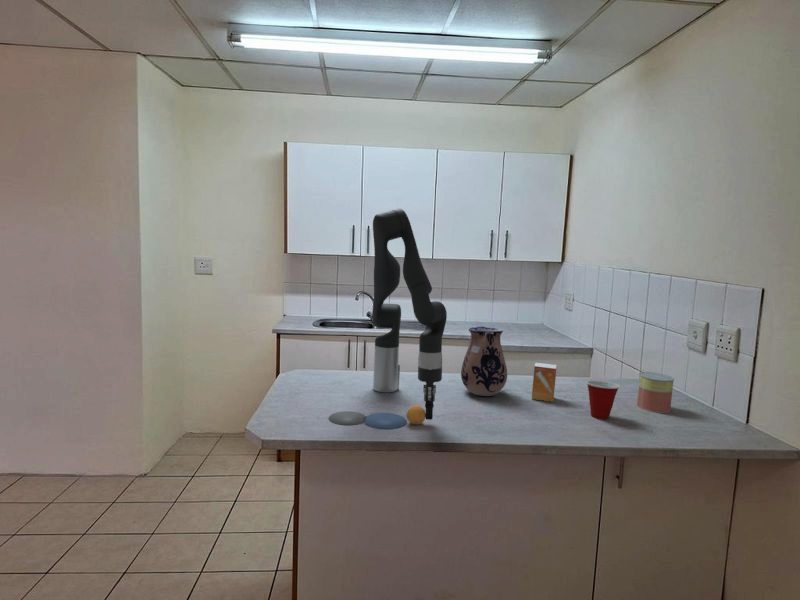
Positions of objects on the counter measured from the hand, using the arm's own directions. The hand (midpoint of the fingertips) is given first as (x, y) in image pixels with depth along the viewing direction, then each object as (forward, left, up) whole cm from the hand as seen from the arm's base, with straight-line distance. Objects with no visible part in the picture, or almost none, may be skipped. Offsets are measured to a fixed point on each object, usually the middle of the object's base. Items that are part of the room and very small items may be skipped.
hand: (429, 418), depth 164 cm
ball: (+3, -3, +1) cm, 4 cm away
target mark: (+9, -11, -2) cm, 14 cm away
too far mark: (+17, -20, -2) cm, 26 cm away
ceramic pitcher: (-43, -10, -2) cm, 44 cm away
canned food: (-79, +42, -2) cm, 89 cm away
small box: (-55, +9, -2) cm, 56 cm away
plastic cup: (-53, +32, -2) cm, 62 cm away
